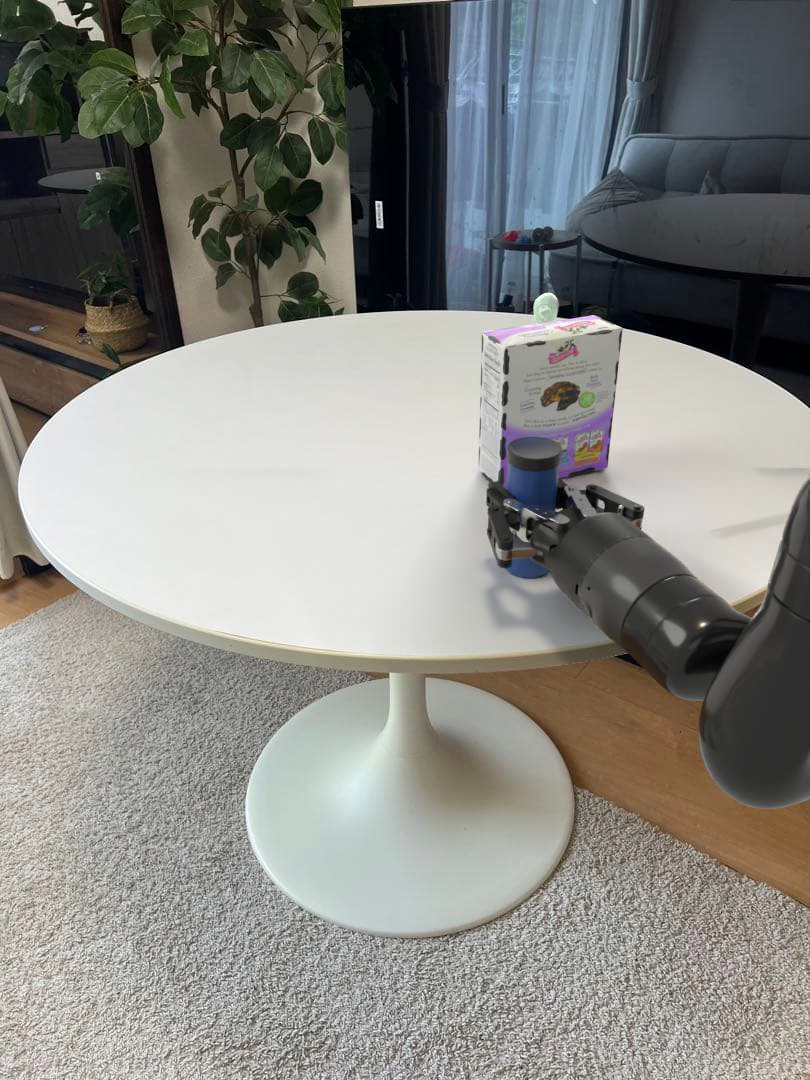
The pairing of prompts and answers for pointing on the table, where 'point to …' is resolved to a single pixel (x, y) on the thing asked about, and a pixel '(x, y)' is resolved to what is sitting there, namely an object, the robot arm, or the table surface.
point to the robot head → (545, 308)
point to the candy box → (549, 392)
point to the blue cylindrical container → (533, 485)
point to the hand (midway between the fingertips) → (516, 486)
